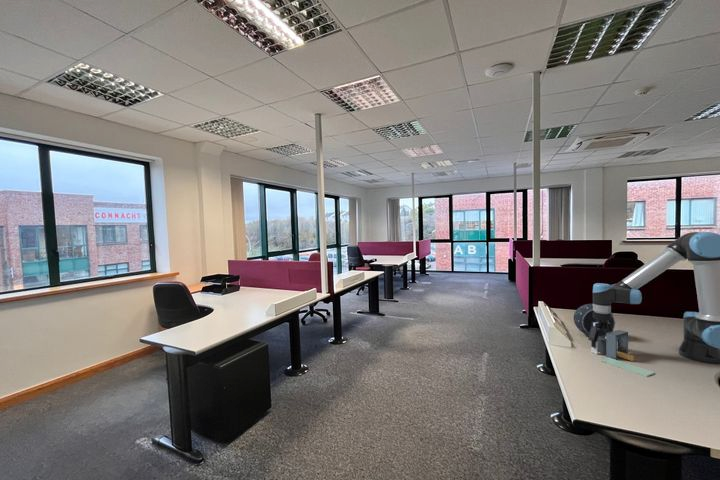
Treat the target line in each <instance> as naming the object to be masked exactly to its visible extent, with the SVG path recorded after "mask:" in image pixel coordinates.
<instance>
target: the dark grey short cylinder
mask: <svg viewBox="0 0 720 480" xmlns="http://www.w3.org/2000/svg"><path fill="white" fill-rule="evenodd" d="M592 305H593V303H586V304H583V305H581V306H579V307H577V309H576V310H575V311H574V314H573V323H574V325H575V327H576V328H577V329H578V330H579V332H581V333H583V334H584V335H586V336H588V337H589V334H590V330H591V326H592V322H594V323H595V322H596V319H594V318H593V306H592ZM610 314H611V324H612V328H613V330H614V328H615V325H616V322H615V321H616V320H615V318H614V314H613V313H612V312H610ZM599 337H602V338H605V337H606V334H605V333H604V331H603V330H602V331H601V332H600V335H599Z"/></svg>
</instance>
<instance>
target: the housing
mask: <svg viewBox="0 0 720 480" xmlns="http://www.w3.org/2000/svg"><path fill="white" fill-rule="evenodd" d="M605 337H606V354H605V356H606V357H605V358H608V357H609V358H612V359H615V360H616V359H617V360H618V357H617V351H619V352H622V353H626V354H629V332H628V331H625V330H622V329H617V330H613V331H612V332H608V333H606V336H605Z"/></svg>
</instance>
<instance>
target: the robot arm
mask: <svg viewBox="0 0 720 480" xmlns="http://www.w3.org/2000/svg"><path fill="white" fill-rule="evenodd" d="M686 260H687V261H688V262H689V263H691V264H692V266H693V273H694V274H693V275H694V282H695V288H696V295H697V297H696V298H697V304H698V312H697V311H684V313H683V318H682V319H683V339H682V342H681V343H680V345H679V347H678V354H679V355H680V356H683V357H685V358H688V359H690V360H694V361H699V362H703V363H709V364H720V234H719V233H715V232H713V231H712V232H709V231H701V232H699V231H691V232H688V233H685V234H683V235H681V236H680V237H678V238H677V239H674V241H672V242H671V243H670V244H668V245H667V246H665V250H664V251H662V252H661V253H659V254H658V255H657V256H655V257H653V258H652V259H651V260H649V261H648V262H646V263H645V264H643V265H642V266H640V267H639V268H638V269H635V270H634V271H633V272H631V273H630V274H629V275H628V276H626V277H625V278H623V279H622V280H620V281H619V282H617V283H614V284H610V283H609V284H608V283H603V282H601V283H600V282H596V283H594V284H593V286H592V304H593V305H592V306H593V318H594V319H596V322H595V323H594V322H592V326H591V330H590V334H589V336H588V341H590V343H591V344H590V346H591V348H590V352H591V353H593V354H595V355H598V354H599V352H598V342H597V339H598V337H599V335H600V332H601V331H602V330H603V331H604V333H605V334H606V333H608V332H612V331H614V329H613V328H612V324H611V314H610V313H612V306H611V305H612V303H619V304H620V303H621V304H629V305H640V304H641V303H642V300H643V296H642V292H641V291H640V290H639V289H640V288H641V287H643V286H644V285H646V284H648V283H649V282H650V281H652V280H653V279H655V278H657V277H658V276H659V275H661V274H663V273H664V272H665V271H666V270H668V269H670V268H672V267H673V266H675V265H676V264H677V263H679V262H681V261H686ZM604 338H606V336H604Z"/></svg>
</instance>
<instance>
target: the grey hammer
mask: <svg viewBox="0 0 720 480" xmlns="http://www.w3.org/2000/svg"><path fill="white" fill-rule="evenodd" d="M597 342H598V353H599V352H600V353H599V354H602V355H603V354H604V355H606V338H605V337H598V339H597ZM617 358H620V359H624V360H626V361H631V362H634V361H635V356H634V354H633V355H632V354H629V353H628V354H626V353H622V352H619V351H618V350H617Z"/></svg>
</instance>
